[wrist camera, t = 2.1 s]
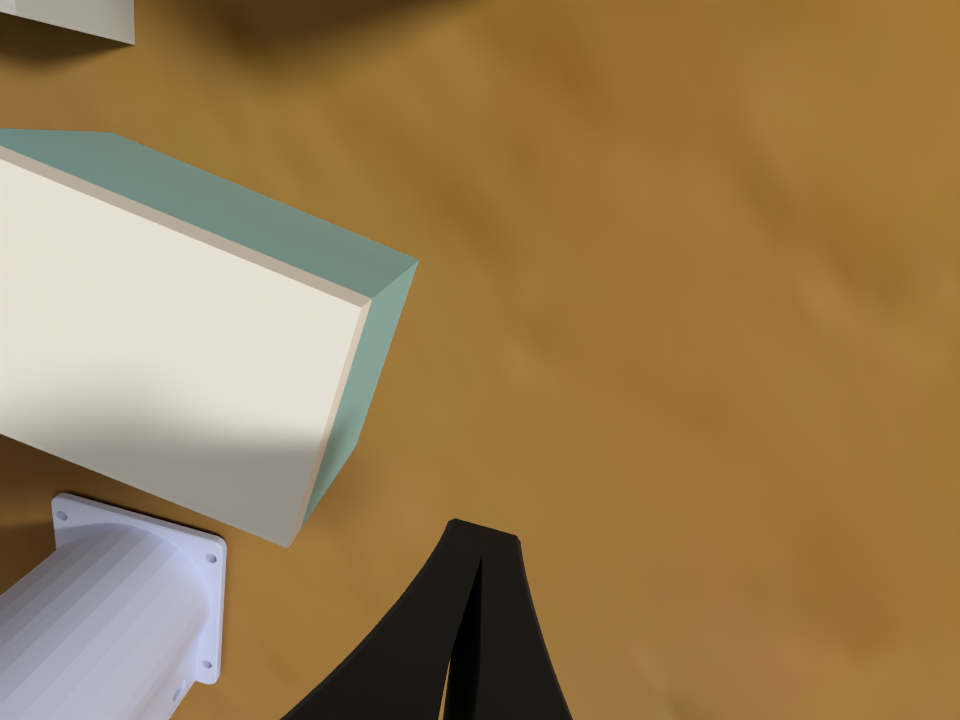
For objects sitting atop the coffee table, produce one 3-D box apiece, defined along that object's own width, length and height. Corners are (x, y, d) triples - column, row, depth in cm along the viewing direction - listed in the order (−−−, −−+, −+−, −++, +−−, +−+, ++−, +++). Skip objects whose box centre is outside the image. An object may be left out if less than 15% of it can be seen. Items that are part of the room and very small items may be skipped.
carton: (357, 443, 21) (287, 548, 16) (98, 338, 21) (-67, 407, 15) (420, 258, 18) (361, 307, 13) (116, 132, 18) (-81, 125, 12)
